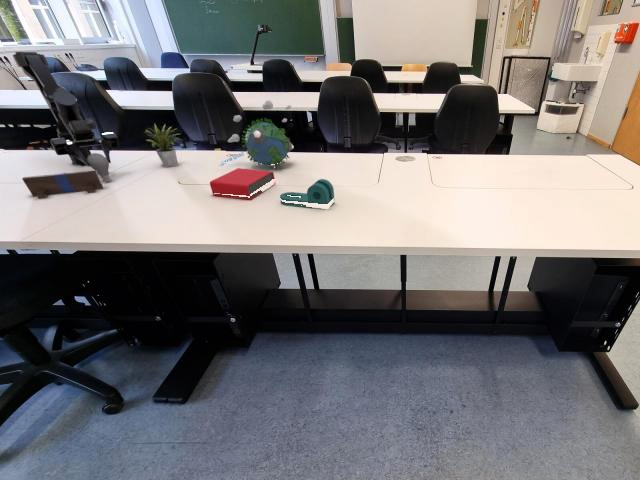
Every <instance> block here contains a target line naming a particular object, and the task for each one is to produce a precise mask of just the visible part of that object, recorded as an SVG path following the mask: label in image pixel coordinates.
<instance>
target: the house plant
mask: <svg viewBox="0 0 640 480" xmlns="http://www.w3.org/2000/svg"><path fill="white" fill-rule="evenodd" d="M153 125H154V129H152V128H150V127H149V128H146V129H145V131H144V133H145V134H146V135H148V136H149V137H150V138H152V139H146V140H145V141H147V142H151V146H152V148H155V146H156V147H158V148H157V149H156V150H155V152H156V154H157V156H158V158H159V160H160V161H161V163H162V165H163V166H164V167H166V168H172V167H176V166H178V165H179V164H178V158H177V157H178V156H177V152H176V148H174V147H171V146H172V145H174V146H175V143H176V142H177V141H178V142H180V141H181V140H179V137H177V138H173V137H176V136H178V135H179V133H174V132H176V131H175V130H176V128H174V129H172V130H171V128H172V126H170V127H169V128H167V130H165V128H166V124H164V125H163V127H162V129H161V131H160V129H159V128H158V126H157V125H156V123H155V122H154V124H153ZM148 129H150V130H151V131H152V132H151V131H150V130H148ZM172 133H173V134H172ZM181 134H182V133H180V135H181ZM171 138H172V139H171Z"/></svg>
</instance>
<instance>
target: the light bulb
mask: <svg viewBox="0 0 640 480" xmlns="http://www.w3.org/2000/svg"><path fill="white" fill-rule="evenodd" d="M87 161H88V163H89V165H90V166H89V167H90V168H91V169H92V170H93V171H96V173H97V175H98V176H100V178H101V181H102V182H105V183H109V182H111V181H112V179H111V177H110V171H109V170H110V169H109V168H110V163H109V162H108V160H107V158H106V156H105V155H103V154H101V153H98V152H93V153H91V154H90V155H89V156H88V158H87Z"/></svg>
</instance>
